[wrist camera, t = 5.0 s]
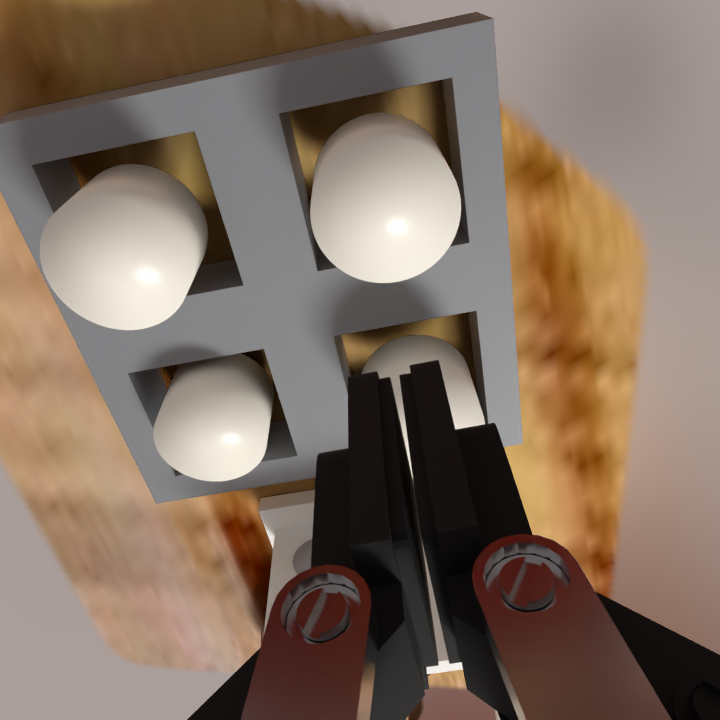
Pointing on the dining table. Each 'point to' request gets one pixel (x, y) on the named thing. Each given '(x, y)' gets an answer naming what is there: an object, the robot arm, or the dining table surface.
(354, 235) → the button
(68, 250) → the button
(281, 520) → the card
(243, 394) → the button
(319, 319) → the button board
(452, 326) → the dining table surface
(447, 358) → the button
